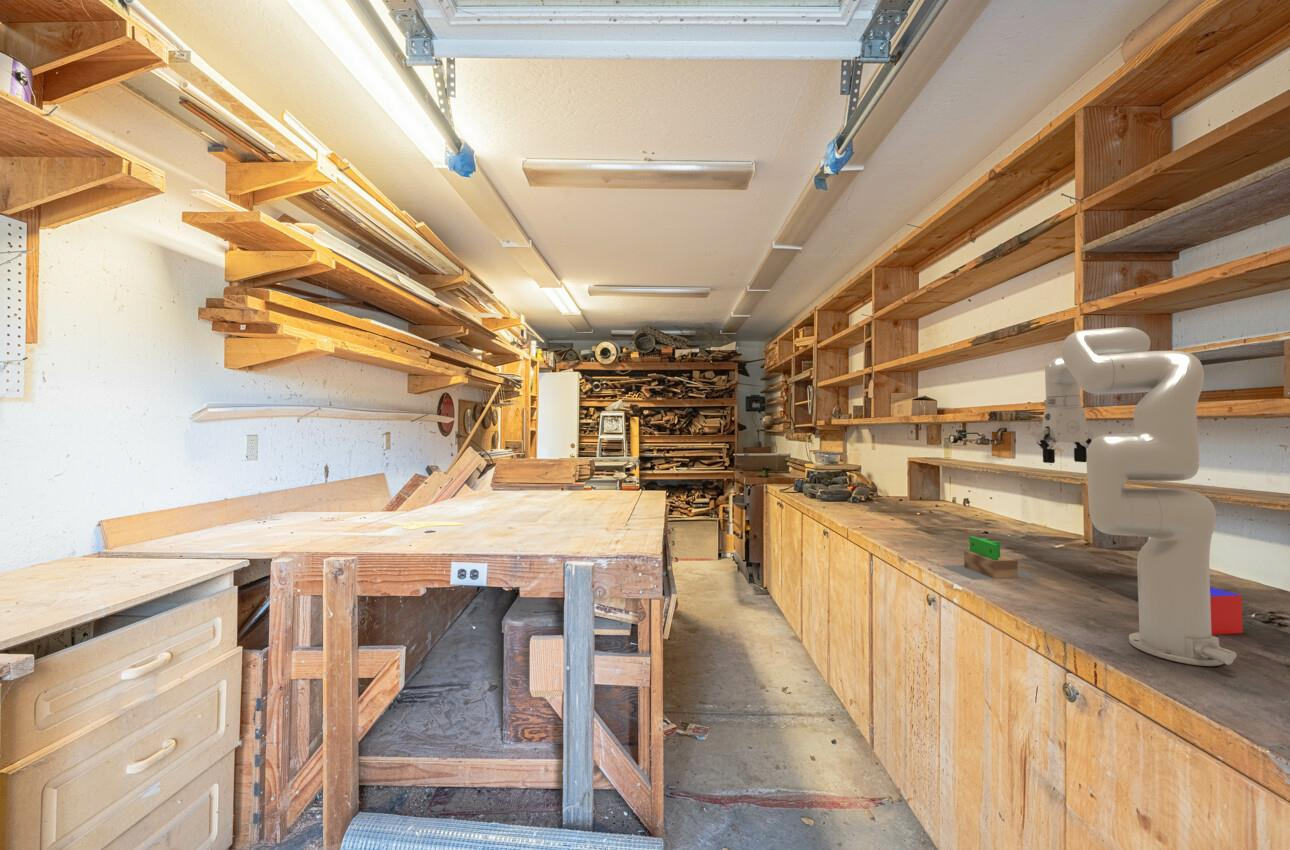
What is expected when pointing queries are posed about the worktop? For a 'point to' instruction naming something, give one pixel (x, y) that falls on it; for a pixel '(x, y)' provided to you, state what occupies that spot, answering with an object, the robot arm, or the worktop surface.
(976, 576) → the mat
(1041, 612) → the worktop surface
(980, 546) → the green notched block
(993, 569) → the base brick
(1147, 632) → the robot arm
